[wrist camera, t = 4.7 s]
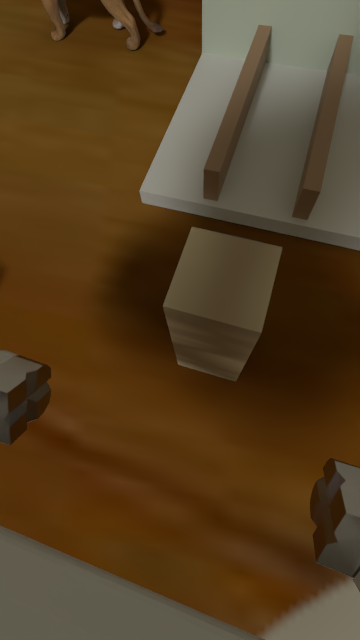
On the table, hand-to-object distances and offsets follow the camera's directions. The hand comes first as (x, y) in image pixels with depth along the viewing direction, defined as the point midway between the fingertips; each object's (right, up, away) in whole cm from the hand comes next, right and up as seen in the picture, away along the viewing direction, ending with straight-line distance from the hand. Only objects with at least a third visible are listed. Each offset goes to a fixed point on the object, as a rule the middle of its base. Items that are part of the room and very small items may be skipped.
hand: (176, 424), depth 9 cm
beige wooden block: (+2, +1, +10) cm, 11 cm away
